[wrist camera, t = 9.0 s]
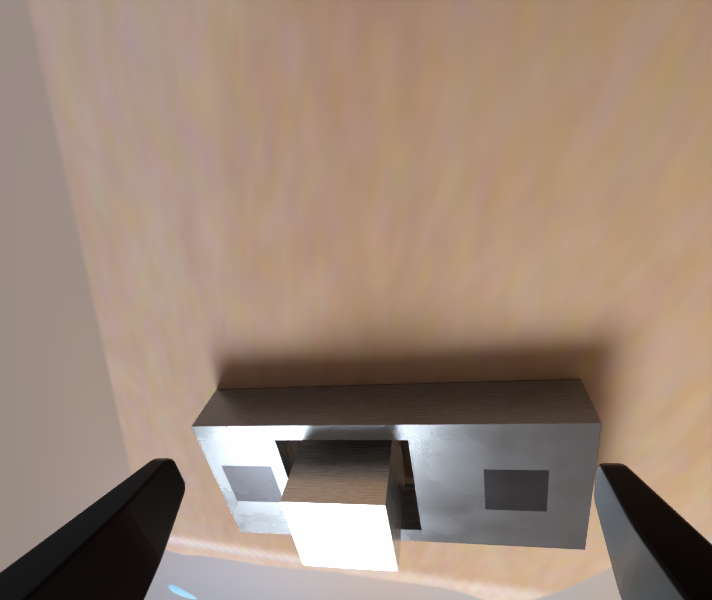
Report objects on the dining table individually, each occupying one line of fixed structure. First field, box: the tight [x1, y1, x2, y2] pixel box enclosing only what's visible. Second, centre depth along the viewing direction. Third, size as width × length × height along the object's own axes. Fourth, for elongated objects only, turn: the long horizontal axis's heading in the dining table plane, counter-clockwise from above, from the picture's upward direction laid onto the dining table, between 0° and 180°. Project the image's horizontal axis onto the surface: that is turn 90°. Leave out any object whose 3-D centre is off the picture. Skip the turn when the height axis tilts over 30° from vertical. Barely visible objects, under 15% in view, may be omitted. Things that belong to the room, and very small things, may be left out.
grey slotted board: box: [192, 379, 601, 550], centre depth 24 cm, size 20×9×3 cm, turn 100°
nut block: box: [280, 440, 405, 572], centre depth 23 cm, size 5×5×6 cm
